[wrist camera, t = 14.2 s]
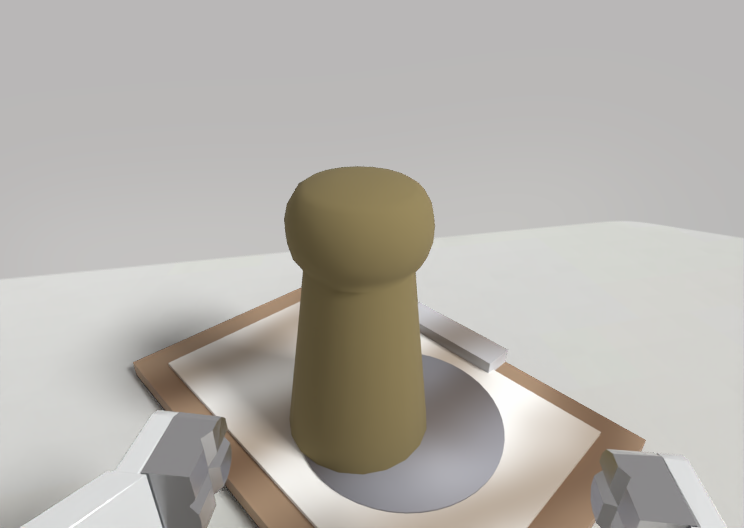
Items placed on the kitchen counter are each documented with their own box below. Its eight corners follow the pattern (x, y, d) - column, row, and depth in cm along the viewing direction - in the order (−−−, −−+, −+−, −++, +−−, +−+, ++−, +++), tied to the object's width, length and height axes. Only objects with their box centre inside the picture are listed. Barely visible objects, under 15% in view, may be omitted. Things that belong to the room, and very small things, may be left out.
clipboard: (136, 374, 25) (129, 349, 24) (340, 280, 34) (340, 259, 33) (441, 754, 13) (446, 730, 12) (640, 452, 21) (651, 427, 21)
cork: (293, 371, 24) (276, 150, 19) (415, 367, 24) (433, 150, 19) (284, 478, 19) (256, 214, 13) (439, 470, 19) (473, 211, 14)
